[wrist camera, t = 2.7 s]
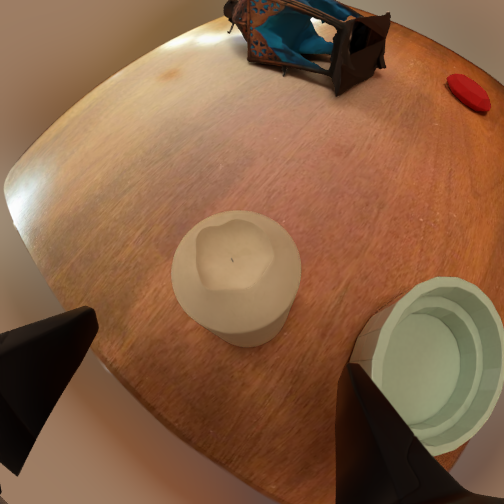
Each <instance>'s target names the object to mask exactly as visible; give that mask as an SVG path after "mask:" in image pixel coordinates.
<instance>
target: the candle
mask: <svg viewBox="0 0 504 504" xmlns="http://www.w3.org/2000/svg"><path fill="white" fill-rule="evenodd" d="M171 277H172V285H173V290H174V293H175V295H176V298H177V300H178V302H179V304H180V305H181V307H182V308H183V309H184V311H185V312H186V313H187V314H188V315H189V316H190V317H191V318H192V319H194V320H195V321H196V322H197V323H199V324H200V325H202V326H203V327H205V328H206V329H208V330H209V331H211V332H212V333H214V334H215V335H217V336H218V337H220V338H221V339H223V340H225V341H226V342H228V343H230V344H233V345H235V346H240V347H255V346H259V345H262V344H265V343H267V342H268V341H270V340H271V339H273V338H274V337H275V336H276V335H277V334H278V333H279V332H280V330H281V329H282V327H283V325H284V323H285V321H286V319H287V316H288V314H289V311H290V309H291V306H292V304H293V301H294V299H295V296H296V293H297V290H298V287H299V284H300V279H301V260H300V256H299V252H298V249H297V247H296V245H295V243H294V241H293V239H292V238H291V236H290V235H289V234H288V232H287V231H286V230H285V229H284V228H283V227H282V226H281V225H279V224H278V223H277V222H276V221H274V220H272V219H270V218H269V217H266V216H264V215H262V214H259V213H255V212H251V211H242V210H235V211H226V212H222V213H218V214H215V215H213V216H210V217H208V218H206V219H204V220H202V221H201V222H199V223H198V224H197V225H195V226H194V227H193V228H192V229H191V230H190V231H189V232H188V233H187V234H186V235H185V236H184V238H183V239H182V241H181V242H180V244H179V246H178V248H177V250H176V252H175V255H174V258H173V263H172V271H171Z"/></svg>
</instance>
